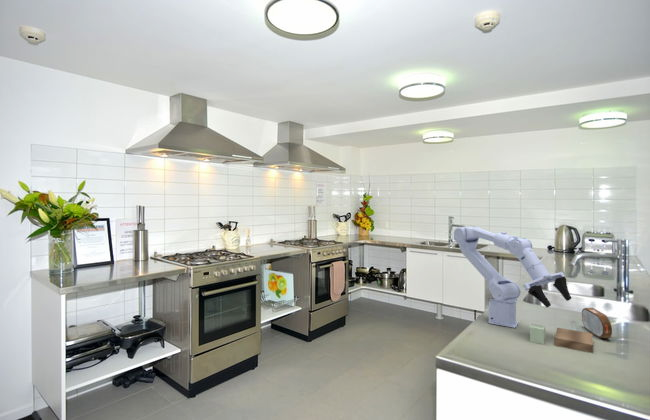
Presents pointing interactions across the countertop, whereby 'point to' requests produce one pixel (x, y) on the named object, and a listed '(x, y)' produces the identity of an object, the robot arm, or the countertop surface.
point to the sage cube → (537, 334)
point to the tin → (596, 323)
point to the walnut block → (574, 340)
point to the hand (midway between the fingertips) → (559, 303)
